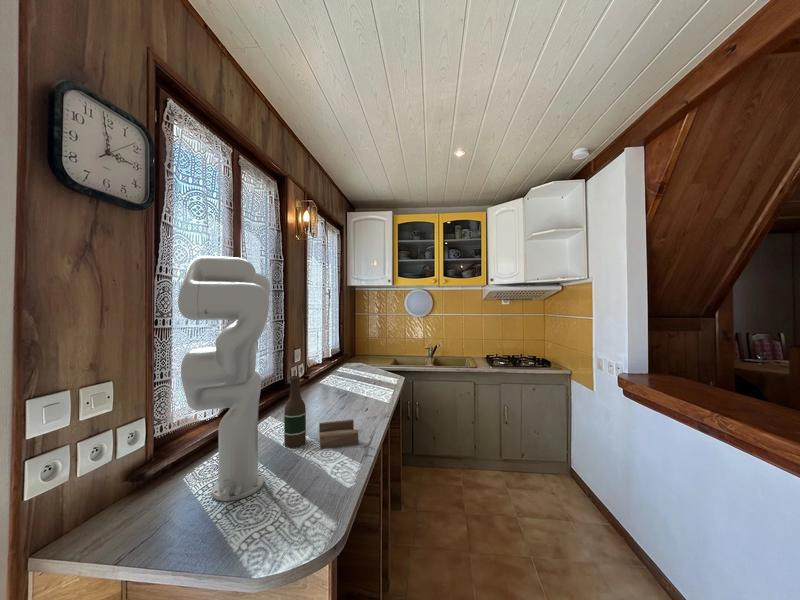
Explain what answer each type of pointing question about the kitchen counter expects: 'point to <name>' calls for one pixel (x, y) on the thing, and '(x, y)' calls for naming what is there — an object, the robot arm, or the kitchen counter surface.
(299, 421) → the beer bottle
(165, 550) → the kitchen counter surface
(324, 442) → the block
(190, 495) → the kitchen counter surface
